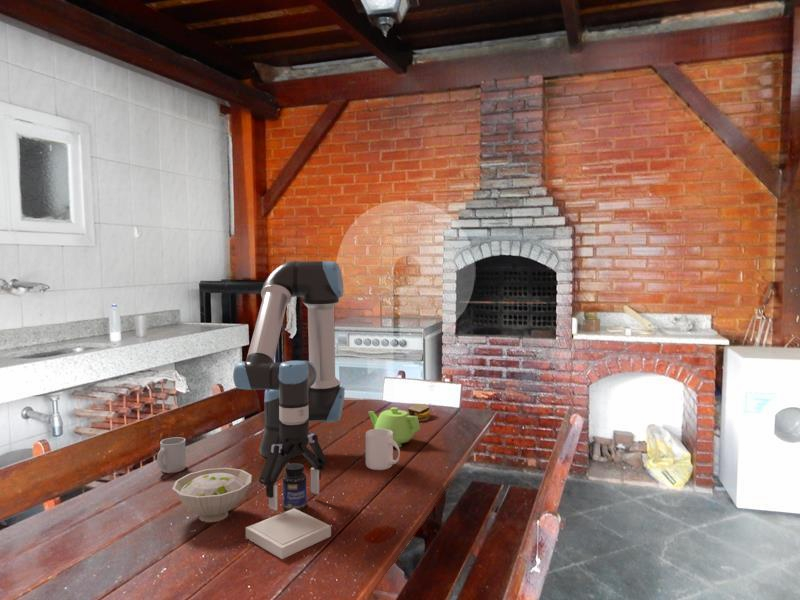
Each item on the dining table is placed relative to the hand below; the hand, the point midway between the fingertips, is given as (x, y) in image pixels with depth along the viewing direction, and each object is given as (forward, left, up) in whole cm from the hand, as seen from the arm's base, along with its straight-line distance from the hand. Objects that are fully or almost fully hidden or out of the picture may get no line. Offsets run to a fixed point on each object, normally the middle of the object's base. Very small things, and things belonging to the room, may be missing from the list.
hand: (294, 500), depth 148 cm
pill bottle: (0, 0, -2) cm, 2 cm away
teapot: (-17, +57, -2) cm, 60 cm away
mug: (-3, +37, -2) cm, 37 cm away
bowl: (-11, -17, -2) cm, 20 cm away
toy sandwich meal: (-32, +87, -2) cm, 92 cm away
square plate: (+12, -11, -2) cm, 16 cm away
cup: (-49, -10, -2) cm, 50 cm away
